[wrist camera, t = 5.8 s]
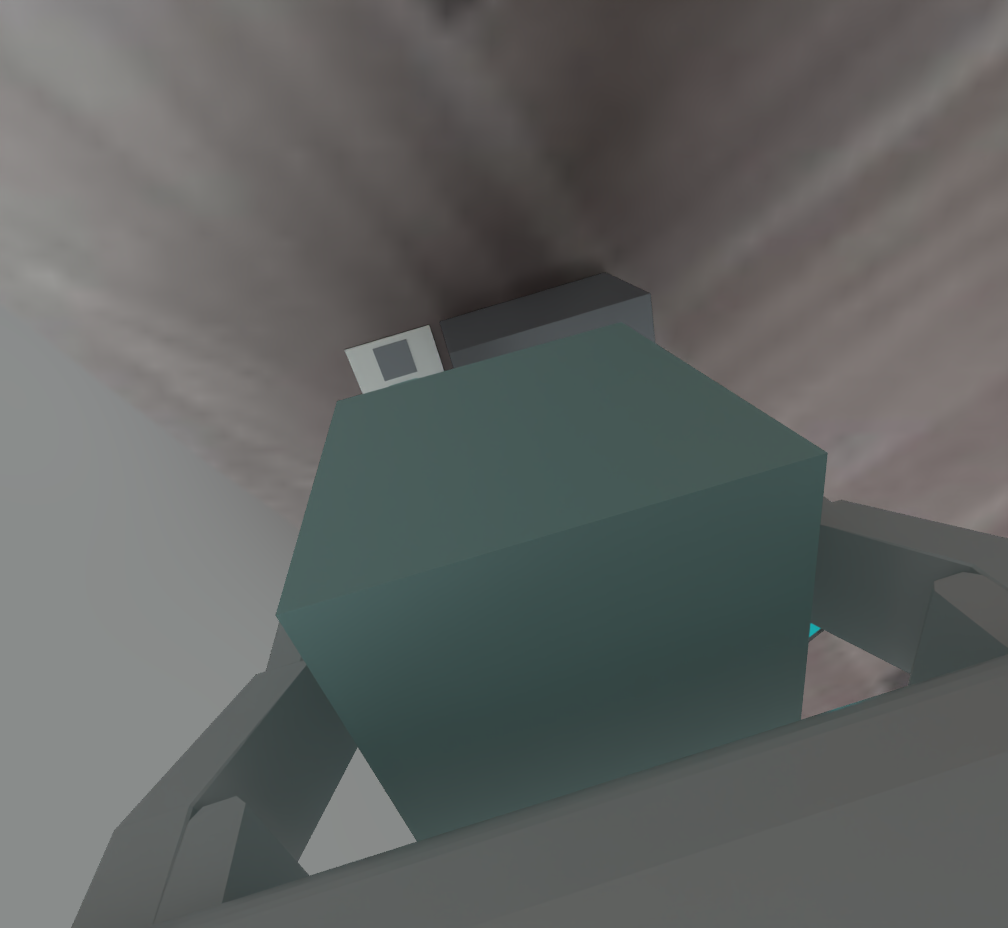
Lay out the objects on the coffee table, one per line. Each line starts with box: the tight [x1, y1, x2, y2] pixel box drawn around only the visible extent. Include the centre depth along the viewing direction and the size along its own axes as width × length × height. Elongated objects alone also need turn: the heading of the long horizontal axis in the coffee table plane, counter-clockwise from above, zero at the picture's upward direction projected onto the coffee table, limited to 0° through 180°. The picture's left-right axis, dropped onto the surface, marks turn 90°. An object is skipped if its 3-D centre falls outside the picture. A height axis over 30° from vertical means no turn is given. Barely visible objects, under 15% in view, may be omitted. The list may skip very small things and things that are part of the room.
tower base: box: [440, 272, 655, 368], centre depth 24 cm, size 8×8×5 cm
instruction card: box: [345, 325, 444, 394], centre depth 25 cm, size 6×4×1 cm, turn 14°
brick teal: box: [276, 322, 827, 842], centre depth 8 cm, size 6×5×5 cm
